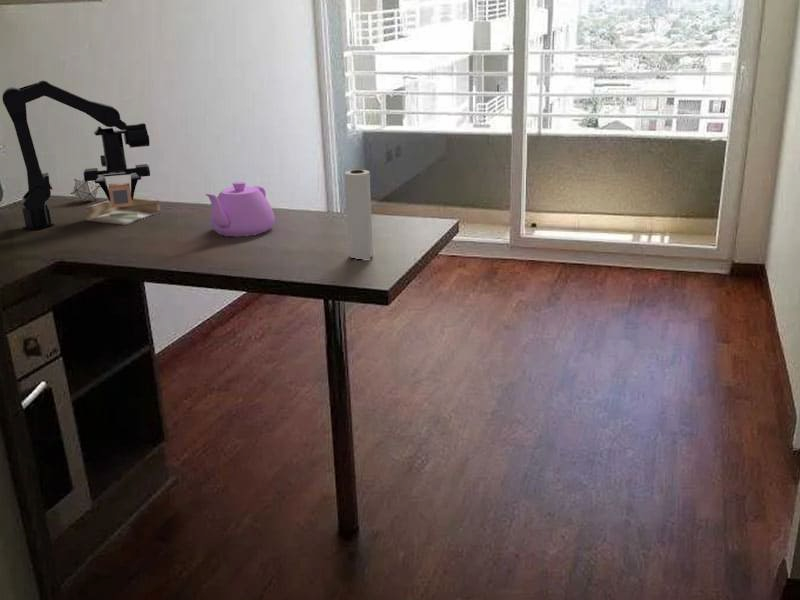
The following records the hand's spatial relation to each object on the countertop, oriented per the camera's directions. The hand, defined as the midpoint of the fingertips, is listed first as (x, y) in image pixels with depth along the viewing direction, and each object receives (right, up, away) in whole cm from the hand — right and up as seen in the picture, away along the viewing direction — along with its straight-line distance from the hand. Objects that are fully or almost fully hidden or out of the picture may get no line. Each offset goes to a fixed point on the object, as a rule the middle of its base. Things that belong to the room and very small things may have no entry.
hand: (121, 200), depth 242 cm
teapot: (+40, -11, -18) cm, 45 cm away
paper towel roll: (+75, -20, -45) cm, 90 cm away
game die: (-19, +2, +23) cm, 30 cm away
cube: (0, -1, 0) cm, 1 cm away
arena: (+1, -5, +1) cm, 5 cm away
